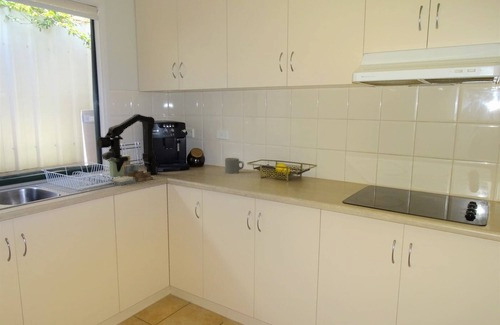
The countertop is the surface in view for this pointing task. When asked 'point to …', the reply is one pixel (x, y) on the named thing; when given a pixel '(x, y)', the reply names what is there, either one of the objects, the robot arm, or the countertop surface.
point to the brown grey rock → (136, 173)
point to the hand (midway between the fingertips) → (116, 171)
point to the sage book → (115, 169)
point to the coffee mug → (232, 165)
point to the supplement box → (127, 161)
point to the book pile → (123, 180)
